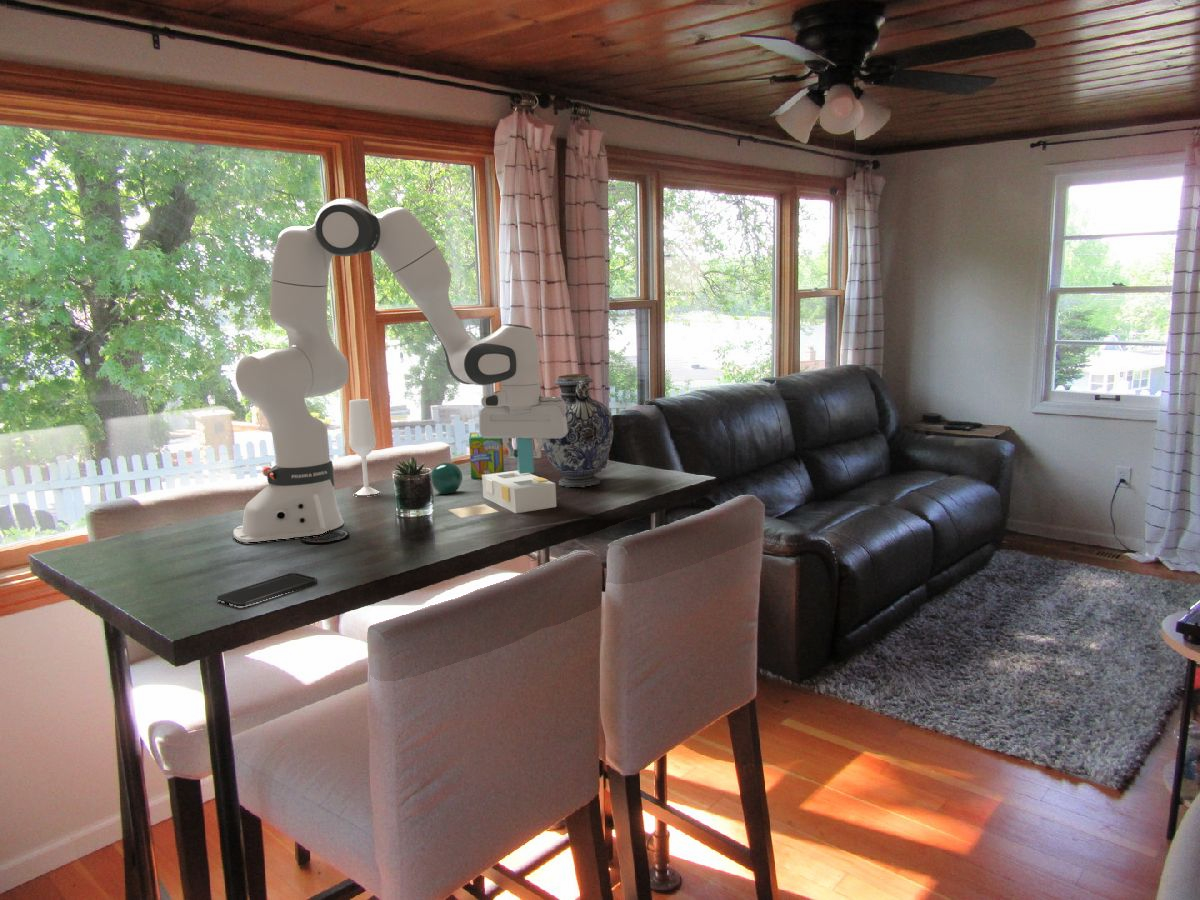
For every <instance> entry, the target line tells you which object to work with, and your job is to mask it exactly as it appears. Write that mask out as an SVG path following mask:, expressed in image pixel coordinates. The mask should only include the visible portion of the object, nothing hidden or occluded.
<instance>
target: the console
mask: <svg viewBox="0 0 1200 900" xmlns="http://www.w3.org/2000/svg"><path fill="white" fill-rule="evenodd" d="M481 481H482V482H481V483H482V496H483V498H485V499H486V500H488V501H490V502H492V503H494V504H496V505H498V506H501V507H503V508H504V509H506V510H508V511H510V512H512V513H514V514H520V513H526V512H532V511H533V512H534V511H537V510H538V511H539V510H546V509H551V508H556V507H557V494H556V493H557V492H556V490H557V489H556V483H555V482H553V481H550V480H549V479H547V478H544V477H539V476H537V475H535V474H532V473H523V474H520V473H519V472H518V469H517V470H511V471H504V472H501V473H494V474H487V475H482V478H481Z"/></svg>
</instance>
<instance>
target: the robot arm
mask: <svg viewBox="0 0 1200 900" xmlns="http://www.w3.org/2000/svg"><path fill="white" fill-rule="evenodd" d="M372 251H373V252H375V253H376V254H377V255H379V257H380V258H381V259H382V260H383V261H384V263H385V264H386V266H387V267H388V269H389V271H390V272H391V273H392V275H393V277H394V278H395V279H396V281H397V283H398V284H399V285H400V286H401V288H402V289H403V290H404V292H405V293H406V294H407V295H408V296H409V297H410V299H411V300H412V301H413V303H415V305H416V306H417V307H418V309H419V310H420V311H421V312H422V314H423V315H424V318H425V319H426V321H427V323H428V324H429V326H430V327H431V329H432V331H433V332H434V334H435V336H436V337H437V339H438V341H439V342H440V345H441V346H442V348H443V351H444V354H445V361H446V366H447V369H448V372H449V374H450V375H451V376H452V378H453V379H454V380H456V381H457V382H459V383H461V384H463V385H475V386H485V387H486V386H490V385H493V384H497V383H499V382H500V386H501V389H500V390H498V391H495V392H494V393H491V394H488V395H485V396H483V397H482V398H481V400H480V402H481V405H482V408H481V410H480V412H479V419H478V420H479V423H478V424H479V426H478V429H479V431H478V432H480V435H481V436H482V437H483V438H502V439H503V446H504V447H505V449H506V450H507V452H508V458H509V459H517V450H516V448H514V447H513V445H512V444H511V443H512V442H513V439H516V438H532V439H536V442H535V443H536V444H537V447H536V448H535V449H533V451H532V454H533V459H541V458H542V449H543V448H544V447H543V445H544V443H545V438H563V437H565V436H566V434H567V433H568V427H567V420H566V412H567V409H566V402H565V401H564V400H563V399H561V396H542V386H541V383H542V382H541V379H540V376H539V367H540V352H539V344H538V338H537V334H536V331H535V330H534V329H532V328H531V327H529V326H526V325H521V324H512V323H504V324H502V325H501V326H500V327H499V328H498V329H497V330H495V331H494V332H493V333H491V334H489V335H487V336H485V337H483V338H481V339H480V340H477V339H475V338H473V337H472V336H471V335H470V334H469V332H468V331H467V330H466V328H465V327H464V325H463V322H461V320H460V318H459V316H458V314H457V312H456V311H455V309H454V307H453V305H452V304H451V299H450V294H449V291H450V286H451V280H452V273H451V270H450V268H449V265H448V263H447V260H446V258H445V256H444V255H443V252H442V251H441V249H440V248H439V246H438V244H437V243H436V242H435V240H434V239H433V237H432V236H431V234H430V233H429V231H428V230H427V228H425V226H424V225H423V224H422V222H421V221H420V220H419V219H418V218H417V217H416V216H415V215H414V214H413V213H412V212H411V210H408V208H406V207H403V206H402V207H401V206H396V207H390V208H387V209H385V210H384V211H381V212H379V213H373V212H372V211H371V210H370V209H369V207H368V206H367V205H366V204H364V203H363V202H362V201H360V200H358V199H356V198H351V197H339V198H334V199H332V200H330V201H328V202H327V203H326V204H325V205H323V206H322V207H321V208H320V210H318V212H317V214H316V216H315V219H314V223H313V224H311V225H309V226H303V225H293V226H289V227H286V228H285V229H283V230H281V232H280V233H279V234H278V237H277V240H276V244H275V248H274V252H273V253H274V254H273V258H272V259H273V260H272V264H271V265H272V266H271V277H270V279H271V280H270V300H269V301H270V303H269V313H270V317H271V320H273V322H274V323H275V324H276V325H277V326H278V327H280V328H282V329H283V330H285V332H286V334H287V337H288V338H287V339H288V347H284V348H283V347H282V348H270V349H269V348H268V349H262V350H260V351H256V352H253V353H250V354H247V355H245V356H243V357H242V358H241V359H240V361H239V362H238V364H237V366H236V371H235V382H236V385H237V388H238V390H239V392H240V393H241V394H242V395H243V396H244V398H245V399H247V400H248V401H250V402H252V403H253V404H254V405H256V407H258V409H259V410H260V411H261V412H262V414H263V416H264V417H265V419H266V421H267V423H268V426H269V428H270V431H271V434H272V442H273V449H274V455H275V465H274V466H273V467H271V466H269V465H268V466H267V465H266V466H264V467H263V469H262V474H263V475H264V477H266V478H267V483H268V484H267V485H266V486H265V487H264V488H263V489H262V490H261V491H259V492H258V493H257V494H256V495H255V496H254V497H253V498H251V499H250V500H249V501H248V502H247V503H246V505H245V506H244V510H243V516H242V525H239V526H237V527H236V528H234V530H232V531H233V532H232V535H234V537H235V538H236V539H237V540H239V541H243V542H258V541H266V540H273V539H282V538H293V537H302V536H310V535H319V534H323V533H325V532H326V533H327V531H328V532H330V531H333V530H336V529H338V528H340V527H342V526H343V525H344V519H343V517H342V515H341V512H340V509H339V505H338V502H337V501H338V500H337V498H336V493H335V487H334V486H335V481H336V480H335V471H334V465H333V461H332V460H331V457H330V456H331V455H330V454H331V452H330V446H329V445H330V444H329V443H330V442H329V434H328V433H329V431H328V428H327V426H326V424H325V423H324V421H322V420H321V419H319V418H317V417H315V416H313V415H312V414H311V413H310V411H309V409H308V407H307V404H306V399H309V398H316V397H323V396H326V395H329V394H331V393H334V392H336V391H339V390H340V389H342V388H344V387H345V386H346V384H347V382H348V380H349V377H350V366H349V363H348V359H347V358H346V356H345V355H344V353H343V352H342V351H341V350H340V349H339V348H338V347H337V346H336V345H335V343H334V342H333V339H332V337H331V335H330V330H329V327H328V326H329V325H328V315H327V314H328V313H327V312H328V290H329V289H328V288H329V273H330V272H329V271H330V265H331V262H332V260H333V258H334V257H335V256H339V257H351V256H356V255H360V254H363V253H368V252H372ZM560 400H561V401H560ZM558 401H560V402H558ZM329 530H330V531H329ZM326 533H325V534H326ZM323 535H324V534H323ZM234 537H233V538H234ZM258 543H259V542H258Z"/></svg>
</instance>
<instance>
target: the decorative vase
mask: <svg viewBox="0 0 1200 900" xmlns="http://www.w3.org/2000/svg"><path fill="white" fill-rule="evenodd" d="M593 382H594V380H593V379H592V378H590V376H589V374H584V373H574V374H573V373H572V374H569V373H568V374H564V375H563V374H562V375H559V376H558V377H557V380H555V381H554V385H556V386H557V385H558V387H559V390H560V393H559V395H560V398H561V399H563V400H564V401H565V402H566V409H567V412H566V420H567V427H568V433H567V434H566V436H565V437H563V438H545V443H544V445H543V447H542V448H543V449H544V452H545V455H546V456H547V459H548V460H549V462H550V465H552V467H553V468H554V470H556V471H557V472H558V473H559V474H561V475H562V476H563V477H562V478H560V479H559V481H558V486H560V485H561V486H560V487H562V486H565V487H564V488H569V487H582V488H586V487H585V486H590V487H592V486H591V485H595V486H597V485H599V484H600V482H601V481H600V479H599V477H598V476H595V474H598V473H600V472H602V470H603V469H606V468H607V464H608V460H609V459H610V458H609V457H610V455H609V453H610V452H611V448H612V445H613V444H612V443H613V439H614V423H613V421H614V420H613V417H612V414H611V411H610V409H609V408H608V406H607V405H605V404H604V403H602V402H601V401H599V400H597V399H593V398H591V396H590V391H589V384H590V383H591V384H592V383H593ZM560 401H561V400H560ZM560 401H558V402H560ZM598 483H599V484H598ZM596 484H597V485H596Z"/></svg>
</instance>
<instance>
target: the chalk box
mask: <svg viewBox="0 0 1200 900" xmlns="http://www.w3.org/2000/svg"><path fill="white" fill-rule="evenodd" d="M468 440H469V441H468V443H469V445H468V446H469V447H468V448H469V459H470V479H471V480H474V479H482V475H487V474H494V473H501V472H505V462H504V444H503V438H483V437H482V436H481V435H480V432H479V431H474V432H469V438H468Z"/></svg>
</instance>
